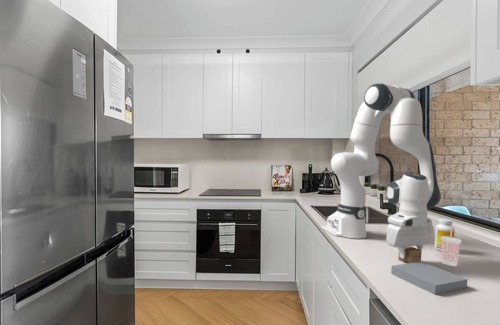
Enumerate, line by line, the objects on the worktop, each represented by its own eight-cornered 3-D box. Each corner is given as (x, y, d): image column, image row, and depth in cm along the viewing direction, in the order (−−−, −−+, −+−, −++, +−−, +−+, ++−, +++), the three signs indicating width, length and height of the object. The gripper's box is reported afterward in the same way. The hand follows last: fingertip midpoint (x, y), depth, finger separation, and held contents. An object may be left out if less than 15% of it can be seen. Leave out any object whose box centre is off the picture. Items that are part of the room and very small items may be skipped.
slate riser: (391, 273, 89) (391, 265, 89) (421, 268, 95) (421, 261, 95) (434, 294, 76) (435, 285, 76) (466, 287, 82) (467, 279, 82)
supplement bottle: (456, 254, 113) (458, 222, 113) (438, 251, 115) (440, 220, 114) (448, 248, 120) (450, 218, 120) (431, 246, 121) (433, 217, 121)
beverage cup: (462, 265, 101) (465, 226, 101) (454, 267, 98) (457, 227, 97) (443, 259, 106) (446, 222, 106) (435, 261, 103) (438, 223, 102)
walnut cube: (398, 260, 102) (399, 246, 102) (407, 259, 104) (408, 245, 104) (410, 265, 98) (411, 251, 98) (420, 264, 100) (421, 250, 100)
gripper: (423, 216, 108) (421, 251, 108) (384, 217, 100) (381, 256, 100) (440, 219, 102) (437, 257, 102) (400, 222, 94) (397, 263, 94)
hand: (409, 257), depth 101 cm, fingers open, 5 cm apart
